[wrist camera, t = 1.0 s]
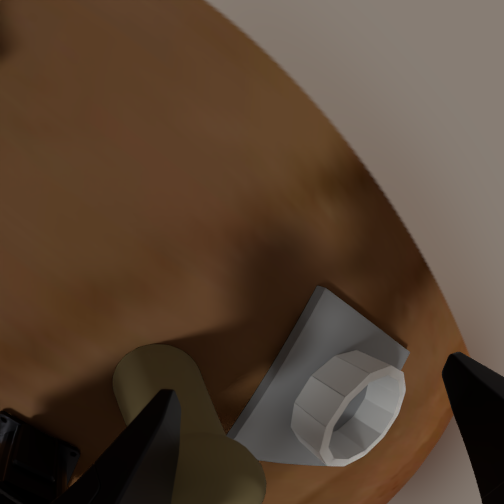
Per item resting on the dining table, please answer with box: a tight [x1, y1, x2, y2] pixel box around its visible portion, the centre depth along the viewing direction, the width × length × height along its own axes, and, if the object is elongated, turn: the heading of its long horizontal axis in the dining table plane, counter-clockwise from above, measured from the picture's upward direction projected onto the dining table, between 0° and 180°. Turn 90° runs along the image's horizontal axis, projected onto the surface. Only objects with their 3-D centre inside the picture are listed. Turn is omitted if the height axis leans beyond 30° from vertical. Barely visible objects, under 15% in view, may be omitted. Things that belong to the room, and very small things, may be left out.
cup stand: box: [226, 286, 410, 466], centre depth 22 cm, size 15×16×5 cm
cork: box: [113, 344, 266, 504], centre depth 12 cm, size 6×6×11 cm
